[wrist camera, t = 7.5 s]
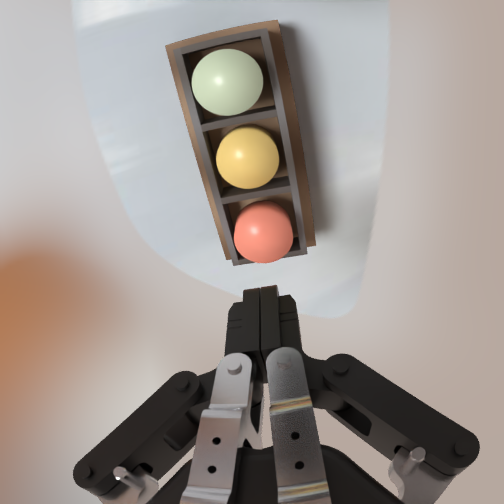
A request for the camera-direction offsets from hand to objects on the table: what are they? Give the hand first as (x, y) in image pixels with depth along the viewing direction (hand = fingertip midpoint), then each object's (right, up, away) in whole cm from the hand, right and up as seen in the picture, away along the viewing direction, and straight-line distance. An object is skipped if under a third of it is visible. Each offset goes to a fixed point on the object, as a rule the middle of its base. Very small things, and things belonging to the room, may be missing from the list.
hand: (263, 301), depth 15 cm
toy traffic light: (-1, +9, +6) cm, 11 cm away
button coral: (0, +4, +5) cm, 7 cm away
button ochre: (-1, +8, +4) cm, 9 cm away
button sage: (-2, +11, 0) cm, 11 cm away
